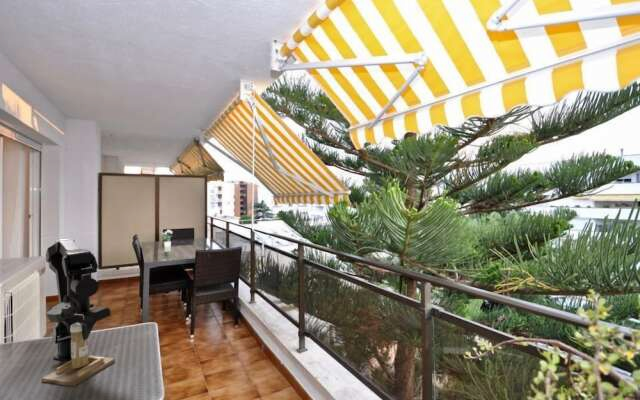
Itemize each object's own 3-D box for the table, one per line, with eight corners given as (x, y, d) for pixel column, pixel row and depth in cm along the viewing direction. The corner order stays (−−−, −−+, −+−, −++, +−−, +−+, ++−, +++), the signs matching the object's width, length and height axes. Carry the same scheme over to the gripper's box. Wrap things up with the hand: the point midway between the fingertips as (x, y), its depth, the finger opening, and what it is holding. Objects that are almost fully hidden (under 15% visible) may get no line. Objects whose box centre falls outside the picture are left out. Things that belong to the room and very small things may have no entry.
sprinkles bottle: (88, 366, 99) (87, 324, 99) (69, 370, 96) (69, 327, 96) (89, 359, 103) (88, 319, 102) (71, 363, 100) (71, 322, 100)
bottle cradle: (41, 381, 94) (41, 373, 94) (85, 357, 108) (85, 350, 108) (73, 386, 91) (73, 378, 91) (114, 361, 105) (114, 354, 105)
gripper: (27, 296, 93) (28, 347, 93) (77, 301, 89) (78, 354, 90) (65, 285, 104) (66, 331, 104) (111, 289, 100) (112, 337, 100)
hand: (79, 338), depth 99 cm, fingers closed on sprinkles bottle, 4 cm apart
